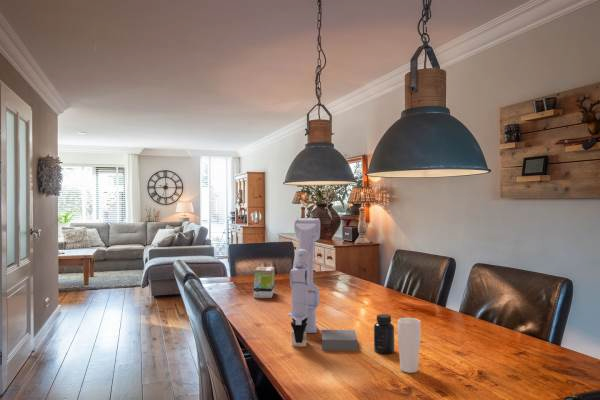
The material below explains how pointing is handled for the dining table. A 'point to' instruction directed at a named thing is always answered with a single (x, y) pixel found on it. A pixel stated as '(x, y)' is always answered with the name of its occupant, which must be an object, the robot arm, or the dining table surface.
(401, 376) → the dining table surface
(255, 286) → the tea box
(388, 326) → the supplement bottle
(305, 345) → the birch block
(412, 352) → the drinking glass
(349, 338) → the charcoal box
